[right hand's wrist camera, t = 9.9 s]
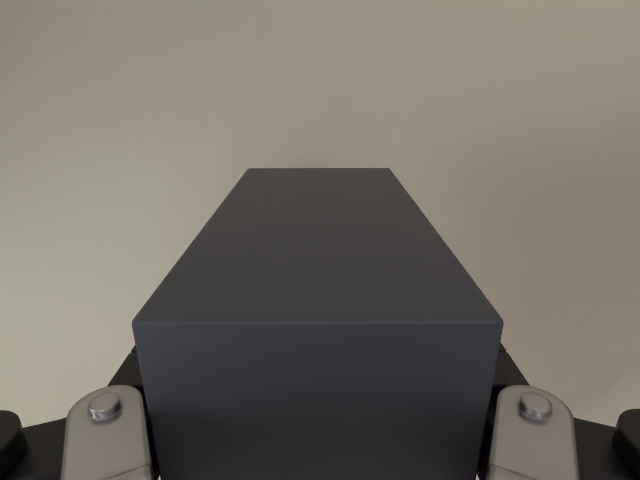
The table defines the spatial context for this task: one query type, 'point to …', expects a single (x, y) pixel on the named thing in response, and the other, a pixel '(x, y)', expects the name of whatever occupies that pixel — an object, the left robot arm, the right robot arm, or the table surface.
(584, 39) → the table surface
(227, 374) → the box
